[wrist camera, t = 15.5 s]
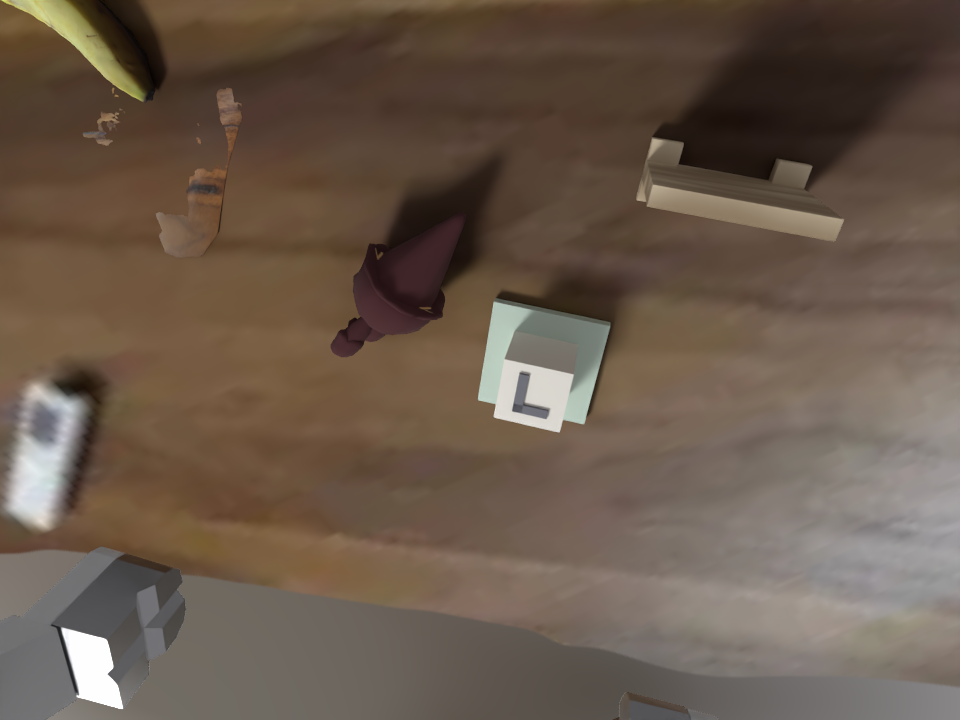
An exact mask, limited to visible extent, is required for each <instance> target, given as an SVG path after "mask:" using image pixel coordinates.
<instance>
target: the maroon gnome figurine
mask: <svg viewBox="0 0 960 720" xmlns="http://www.w3.org/2000/svg"><path fill="white" fill-rule="evenodd" d="M466 218H467V216H466V215H465V214H464V213H463V212H460V213H458V214H456V215H454V216H452V217H450V218H448V219H446V220H445V221H443V222H441V223H439V224H437V225H435V226H434V227H432V228H430V229H428V230H426V231H424V232H422V233H421V234H419V235H417V236H415V237H413V238H411V239H409V240H408V241H406V242H404V243H402V244H400V245H398V246H396V247H395V248H389V247H387V246H385V245H383V244H376V245H375V244H369V246H368V250H367V254H366V258H365V260H364V263H363V265H362V267H361V269H360V271H359V272H358V273H357V274H356V275H354V279H353V282H354V287H353V293H354V297H355V302H356V307H357V310H358V313H359V315H360V316H361V317H360V318H358V319H356V318H353V319H352V320H350V321H349V324H348V327H347V328H346V329H344V330H340V331H339V332H338V334H337V336H336V338H335V339H334V340H333V342H332V344H331V350H332V352H333V353H334V354H336V355H338V356H340V357H348V356H352V355H354V354H355V353H356V352H357V351H358V350H359V349H361V347H362V346H363V345H364V341H365V340H366V341H368V342H373V341H377V340H379V339H380V338H382V337H383V336H385V334H389V335H394V334H408V333H411V332H415V331H418V330H419V329H421V328H422V327H423V326H425V325H426V324H427V323H428V322H429V321H430V320H437V319H438V318H441V317H443V312H442V310H443V307H444V303H445V296H444V294H443V292H442V290H441V289H440V287H441V285H442V282H443V279H444V277H445V274H446V271H447V269H448V266H449V263H450V261H451V258H452V255H453V253H454V250H455V247H456V245H457V242H458V240H459V237H460V234H461V232H462V229H463V227H464V224H465V221H466Z"/></svg>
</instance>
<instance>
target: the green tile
mask: <svg viewBox="0 0 960 720" xmlns="http://www.w3.org/2000/svg"><path fill="white" fill-rule="evenodd" d="M609 329H610V322H607V321H602V320H598V319H593V318H588V317H583V316H579V315H574V314H569V313H564V312H560V311H555V310H550V309H545V308H541V307H536V306H531V305H526V304H521V303H517V302H512V301H507V300H502V299H498V298H496V299H495V301H494V304H493V310H492V316H491V323H490V329H489V335H488V341H487V347H486V353H485V359H484V365H483V371H482V378H481V384H480V390H479V396H478V400H480V401H484V402H489V403H493V404H496V402H497V397H498V391H499V386H500V380H501V375H502V369H503V364H504V359H505V356H506V353H507V350H508V348H509V345H510V342H511V340H512V337H513V334H514V331H519V332H523V333H528V334H533V335H537V336H542V337H546V338H551V339H556V340H560V341H565V342H570V343H574V344H578V348H577V356H576V363H575V370H574V376H573V380H572V384H571V388H570V392H569V396H568V401H567V405H566V409H565V413H564V417H563V420H567V421H572V422H576V423H580V424H584V423H585V419H586V415H587V411H588V408H589V404H590V400H591V396H592V393H593V389H594V385H595V382H596V378H597V374H598V370H599V367H600V363H601V359H602V355H603V352H604V348H605V344H606V341H607V337H608V333H609Z"/></svg>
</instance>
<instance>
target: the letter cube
mask: <svg viewBox="0 0 960 720" xmlns="http://www.w3.org/2000/svg"><path fill="white" fill-rule="evenodd" d="M577 348H578V344H574V343H570V342H565V341H560V340H556V339H551V338H546V337H542V336H537V335H533V334H528V333H523V332H519V331H514V334H513V337H512V340H511V342H510V345H509V348H508V350H507V353H506V356H505V359H504V364H503V369H502V375H501V380H500V386H499V391H498V397H497V402H496V408H495V413H494V417H495V418H499V419H503V420H508V421H512V422H516V423H521V424H525V425H529V426H533V427H538V428H542V429H546V430H551V431H555V432H559V433H560V429H561V425H562V421H563V417H564V413H565V409H566V405H567V401H568V396H569V392H570V388H571V384H572V380H573V376H574V370H575V363H576V356H577Z"/></svg>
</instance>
